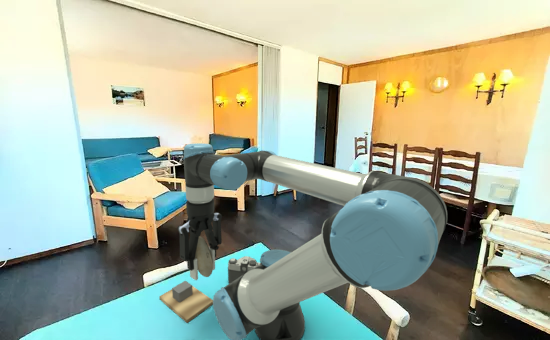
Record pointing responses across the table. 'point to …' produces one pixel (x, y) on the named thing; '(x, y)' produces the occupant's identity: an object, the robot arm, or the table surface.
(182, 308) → the board
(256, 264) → the camera
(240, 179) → the robot arm
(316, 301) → the table surface
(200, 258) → the stone
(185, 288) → the eraser
